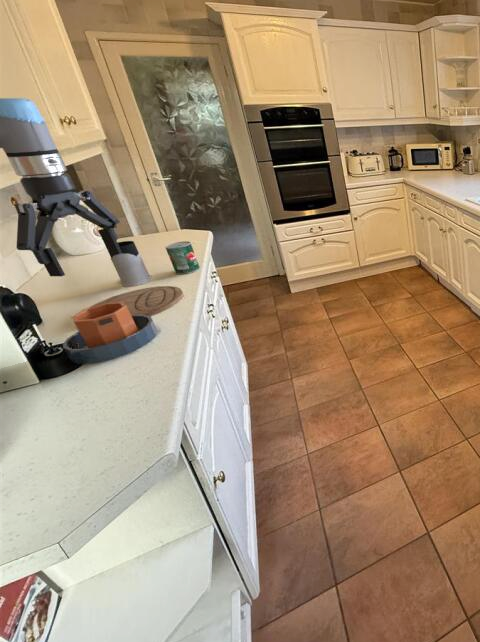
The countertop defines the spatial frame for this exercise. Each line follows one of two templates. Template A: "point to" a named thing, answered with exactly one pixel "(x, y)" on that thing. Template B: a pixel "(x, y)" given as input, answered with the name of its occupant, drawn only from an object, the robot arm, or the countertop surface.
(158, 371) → the countertop surface
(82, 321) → the small pot
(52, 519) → the countertop surface
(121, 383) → the countertop surface
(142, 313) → the trivet
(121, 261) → the glass holder
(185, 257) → the canned tomato
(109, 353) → the blue ring
